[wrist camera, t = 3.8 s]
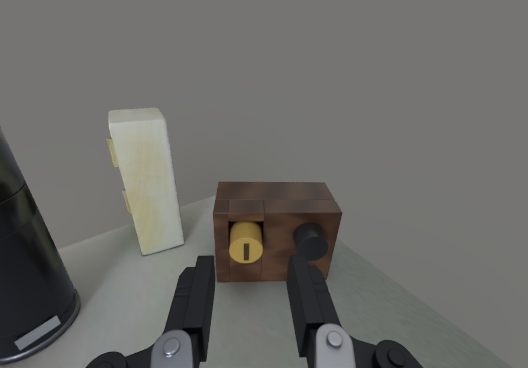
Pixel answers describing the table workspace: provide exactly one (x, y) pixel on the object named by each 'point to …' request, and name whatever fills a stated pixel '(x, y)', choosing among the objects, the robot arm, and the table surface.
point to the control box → (276, 227)
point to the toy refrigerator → (147, 176)
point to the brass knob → (245, 242)
